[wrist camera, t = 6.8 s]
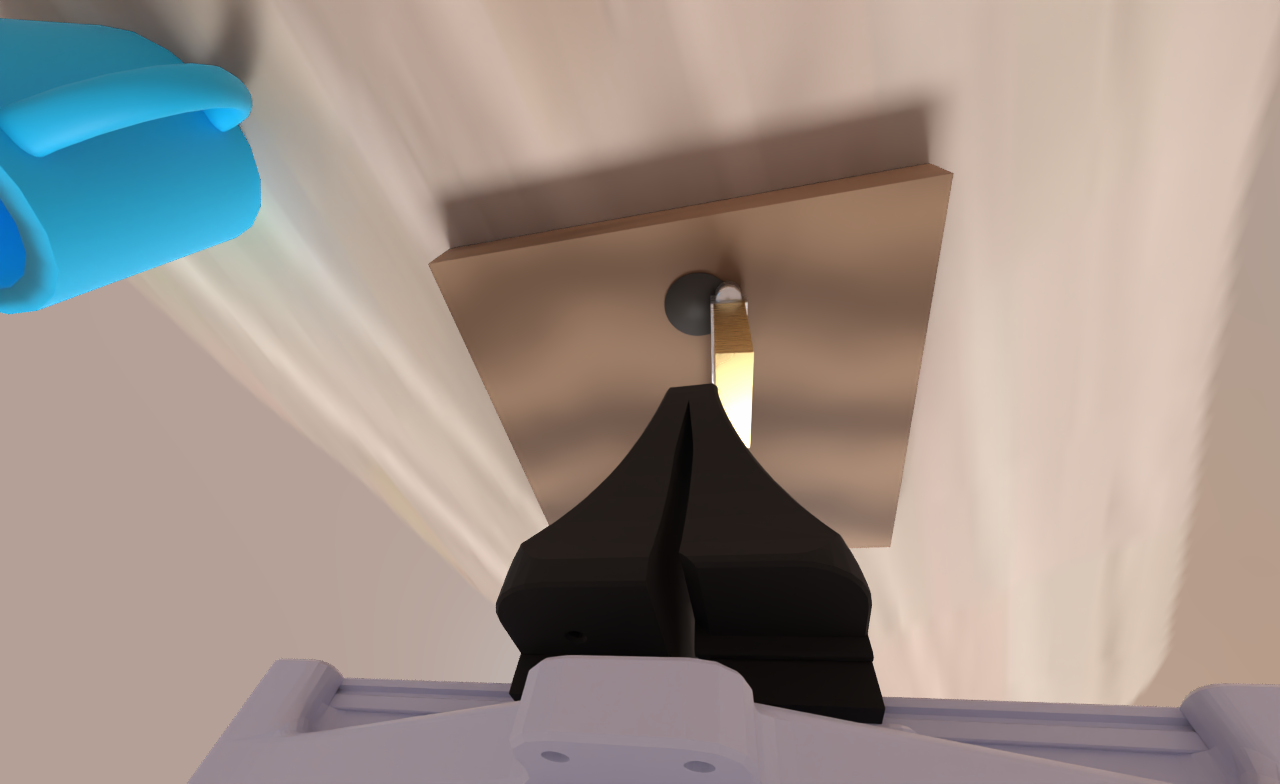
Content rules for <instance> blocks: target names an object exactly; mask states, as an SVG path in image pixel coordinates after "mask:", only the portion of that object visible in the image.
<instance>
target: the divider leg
mask: <svg viewBox="0 0 1280 784" xmlns="http://www.w3.org/2000/svg"><path fill="white" fill-rule="evenodd" d="M710 300H711V361H712V383H713V384H715V385H716V386H717V387H718V394H719V397H720V400H721V403H722V405H723V407H724V410H725V412H726V414H727V416H728V418H729V419H730V421H731V423H732V425H733V426H734V428H735V430H736V432H737V433H738V435H739V436H740V438H741V439H742V441H743V442H744V444H745V445H746V447H750V430H751V408H752V385H753V363H754V350H753V344H752V339H751V333H750V327H749V322H748V316H747V308H748V301H747V296H746V294H741V290H740V287H739V286H738V284H736V283H735V282H733V281H725V282H722V283H721V284H720V285H719V286H718V287H717V289H716V292H715V296H710Z"/></svg>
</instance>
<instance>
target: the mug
mask: <svg viewBox="0 0 1280 784" xmlns="http://www.w3.org/2000/svg"><path fill="white" fill-rule="evenodd" d="M251 108H252V98H251V94H250V92H249V91H248V89H247V87H246V86H245V85H244V84H243V82H242V81H241V80H239V79H238V78H237V77H236V76H234V75H232V74H231V73H229V72H228V71H226V70H224V69H223V68H221V67H218V66H214V65H204V64H195V63H186V64H184V63H183V62H182V61H181V60H180V59H178V58H177V57H176V56H175V55H174V54H172V53H171V52H170V51H169V50H167V49H165V48H163V47H161V46H159V45H157V44H155V43H154V42H152V41H150V40H148V39H146V38H144V37H142V36H140V35H138V34H137V33H135V32H132V31H127V30H122V29H117V28H112V27H107V26H102V25H91V24H76V23H62V22H47V21H32V20H18V19H3V18H0V312H1V313H6V314H14V313H22V312H30V311H37V310H40V309H43V308H46V307H48V306H51V305H53V304H56V303H59V302H62V301H65V300H67V299H70V298H73V297H75V296H78V295H81V294H84V293H86V292H89V291H92V290H94V289H97V288H100V287H103V286H105V285H108V284H111V283H114V282H116V281H119V280H122V279H125V278H127V277H130V276H133V275H135V274H138V273H141V272H144V271H146V270H149V269H152V268H155V267H157V266H160V265H163V264H165V263H168V262H171V261H174V260H176V259H179V258H182V257H185V256H187V255H190V254H193V253H195V252H198V251H201V250H204V249H206V248H209V247H212V246H214V245H217V244H220V243H223V242H225V241H228V240H231V239H234V238H236V237H238V236H239V235H240V234H242V233H243V232H245V231H246V230H247V229H249V228H250V227H251V226H252V225H253V223H254V221H255V218H256V216H257V214H258V211H259V209H260V207H261V179H260V176H259V173H258V170H257V166H256V163H255V160H254V157H253V153H252V150H251V147H250V145H249V144H248V142H247V140H246V138H245V136H244V135H243V133H242V131H241V129H240V128H239V126H238V124H239V123H241V122H242V121H243V120H245V119H246V118H247V117H248V116H249V114H250V111H251Z"/></svg>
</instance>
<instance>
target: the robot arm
mask: <svg viewBox="0 0 1280 784" xmlns="http://www.w3.org/2000/svg"><path fill="white" fill-rule="evenodd" d="M871 608H872V600H871V593H870V590H869V587H868V584H867V582H866V580H865V577H864V575H863V573H862V571H861V569H860V567H859V565H858V563H857V561H856V559H855V558H854V556H853V554H852V552H851V551H850V549H849V548H848V546H847V544H846V543H845V541H844V540H843V538H842V537H841V535H840V534H838V533H837V532H835V531H834V530H833V529H831V528H830V527H828V526H827V525H825V524H824V523H823V522H822V521H820V520H819V519H818V518H816V517H815V516H814V515H812V514H811V513H810V512H809V511H807V510H806V509H805V508H804V507H803V506H801V505H800V504H799V503H798V502H797V501H796V500H795V499H793V498H792V497H791V496H790V495H789V494H788V493H787V492H786V491H785V490H784V489H783V488H782V487H781V486H780V485H779V484H778V483H777V482H776V481H775V480H774V479H773V478H772V477H771V476H770V475H769V474H768V473H767V472H766V470H765V469H764V468H763V467H762V466H761V465H760V463H759V462H758V461H757V460H756V459H755V457H754V456H753V455H752V453H751V452H750V451H749V449H748V448H747V447H746V445H745V444H744V442H743V441H742V439H741V438H740V436H739V435H738V433H737V432H736V430H735V428H734V426H733V425H732V423H731V421H730V419H729V418H728V416H727V414H726V412H725V410H724V407H723V405H722V403H721V400H720V397H719V394H718V387H717V386H716V385H715V384H713V383H710V384H700V385H690V386H680V387H670V388H669V389H668V390H667V392H666V394H665V396H664V398H663V400H662V402H661V403H660V405H659V407H658V409H657V411H656V412H655V414H654V416H653V417H652V419H651V421H650V422H649V424H648V425H647V427H646V428H645V430H644V432H643V433H642V435H641V436H640V437H639V439H638V440H637V442H636V443H635V444H634V446H633V447H632V448H631V450H630V451H629V452H628V454H627V455H626V456H625V458H624V459H623V460H622V461H621V462H620V464H619V465H618V466H617V467H616V468H615V469H614V470H613V472H612V473H611V474H610V475H609V476H608V477H607V478H606V479H605V480H604V481H603V482H602V483H601V484H600V485H599V486H598V487H597V488H596V489H595V490H594V491H592V492H591V493H590V494H589V495H588V496H587V497H586V498H585V499H584V500H582V501H581V502H580V503H579V504H578V505H576V506H575V507H574V508H573V509H571V510H570V511H569V512H567V513H566V514H565V515H564V516H562V517H561V518H560V519H558V520H557V521H555V522H554V523H553V524H551V525H550V526H548V527H546V528H545V529H543V530H542V531H540V532H539V533H537V534H536V535H534V536H533V537H531V538H530V539H528V540H526V541H525V542H523V543H522V544H521V545H520V548H519V550H518V552H517V553H516V555H515V557H514V559H513V561H512V564H511V566H510V568H509V571H508V573H507V576H506V578H505V581H504V584H503V586H502V589H501V592H500V594H499V597H498V599H497V602H496V613H497V615H498V617H499V620H500V622H501V623H502V625H503V627H504V628H505V630H506V631H507V632H508V634H509V636H510V637H511V639H512V640H513V642H514V643H515V645H516V646H517V648H518V649H519V651H520V652H521V655H520V658H519V662H518V665H517V668H516V671H515V675H514V678H513V681H512V684H506V683H478V682H449V681H448V682H447V681H421V680H419V681H418V680H392V679H391V680H390V679H364V678H343V676H342V674H341V673H340V672H339V671H338V670H337V669H336V668H335V667H334V666H332V665H330V664H329V663H327V662H324V661H321V660H315V659H279V660H276V661H275V662H274V663H273V665H272V666H271V667H270V669H269V670H268V672H267V673H266V674H265V676H264V677H263V678H262V680H261V681H260V683H259V684H258V685H257V687H256V688H255V690H254V691H253V693H252V694H251V695H250V697H249V698H248V699H247V701H246V702H245V703H244V705H243V706H242V708H241V709H240V711H239V712H238V713H237V715H236V716H235V718H234V719H233V720H232V722H231V723H230V724H229V726H228V727H227V729H226V730H225V731H224V733H223V734H222V735H221V737H220V738H219V740H218V741H217V742H216V744H215V745H214V747H213V748H212V749H211V751H210V752H209V754H208V755H207V756H206V758H205V759H204V760H203V762H202V763H201V765H200V766H199V767H198V769H197V770H196V772H195V773H194V774H193V776H192V777H191V778H190V780H189V782H188V783H187V784H1280V685H1273V684H1272V685H1271V684H1234V683H1233V684H1231V683H1223V684H1211V685H1207V686H1203V687H1199V688H1197V689H1195V690H1193V691H1192V692H1190V693H1189V694H1188V695H1187V696H1186V697H1185V699H1184V700H1183V702H1182V704H1181V706H1180V707H1157V706H1129V705H1100V704H1072V703H1044V702H1016V701H987V700H959V699H931V698H902V697H882V695H881V691H880V688H879V684H878V681H877V677H876V674H875V670H874V667H873V663H872V661H873V659H874V656H873V651H872V647H871V644H870V640H869V637H868V628H869V621H870V615H871Z"/></svg>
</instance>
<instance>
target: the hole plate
mask: <svg viewBox="0 0 1280 784" xmlns="http://www.w3.org/2000/svg"><path fill="white" fill-rule="evenodd" d="M952 178H953V173H951V172H949V171H947V170H944V169H942V168H940V167H937V166H935V165H932V164H930V163H928V164H922V165H917V166H911V167H905V168H900V169H894V170H889V171H883V172H877V173H872V174H866V175H861V176H855V177H849V178H844V179H838V180H833V181H827V182H821V183H816V184H810V185H805V186H799V187H793V188H788V189H782V190H777V191H771V192H765V193H760V194H754V195H749V196H743V197H737V198H732V199H726V200H721V201H715V202H709V203H704V204H698V205H693V206H687V207H681V208H676V209H670V210H664V211H659V212H653V213H648V214H642V215H636V216H631V217H625V218H620V219H614V220H608V221H603V222H597V223H592V224H586V225H580V226H575V227H569V228H564V229H558V230H552V231H547V232H541V233H536V234H530V235H524V236H519V237H513V238H508V239H502V240H496V241H491V242H485V243H480V244H474V245H468V246H463V247H457V248H452V249H449V250H447V251H446V252H444V253H443V254H442V255H440V256H439V257H437V258H436V259H435V260H433V261H432V262H430V263H429V264H428V265H429V267H430V269H431V271H432V273H433V276H434V278H435V280H436V282H437V284H438V286H439V288H440V291H441V293H442V295H443V297H444V299H445V301H446V304H447V306H448V308H449V310H450V312H451V314H452V317H453V319H454V321H455V323H456V325H457V327H458V329H459V332H460V334H461V336H462V338H463V340H464V342H465V345H466V347H467V349H468V351H469V353H470V355H471V358H472V360H473V362H474V364H475V366H476V368H477V370H478V373H479V375H480V377H481V379H482V381H483V383H484V386H485V388H486V390H487V392H488V394H489V396H490V399H491V401H492V403H493V405H494V407H495V409H496V411H497V414H498V416H499V418H500V420H501V422H502V424H503V427H504V429H505V431H506V433H507V435H508V437H509V440H510V442H511V444H512V446H513V448H514V450H515V453H516V455H517V457H518V459H519V461H520V463H521V465H522V468H523V470H524V472H525V474H526V476H527V478H528V481H529V483H530V485H531V487H532V489H533V491H534V494H535V496H536V498H537V500H538V502H539V504H540V506H541V509H542V511H543V513H544V515H545V517H546V519H547V522H548V524H549V526H550V525H551V524H553V523H554V522H555V521H557V520H558V519H560V518H561V517H562V516H564V515H565V514H566V513H567V512H569V511H570V510H571V509H573V508H574V507H575V506H576V505H578V504H579V503H580V502H581V501H582V500H584V499H585V498H586V497H587V496H588V495H589V494H590V493H591V492H592V491H594V490H595V489H596V488H597V487H598V486H599V485H600V484H601V483H602V482H603V481H604V480H605V479H606V478H607V477H608V476H609V475H610V474H611V473H612V472H613V470H614V469H615V468H616V467H617V466H618V465H619V464H620V462H621V461H622V460H623V459H624V458H625V456H626V455H627V454H628V452H629V451H630V450H631V448H632V447H633V446H634V444H635V443H636V442H637V440H638V439H639V437H640V436H641V435H642V433H643V432H644V430H645V428H646V427H647V425H648V424H649V422H650V421H651V419H652V417H653V416H654V414H655V412H656V411H657V409H658V407H659V405H660V403H661V402H662V400H663V398H664V396H665V394H666V392H667V390H668V389H669V388H670V387H680V386H690V385H700V384H710V383H712V361H711V300H710V296H715V292H716V289H717V287H718V286H719V285H720V284H721V283H722V282H725V281H733V282H735V283H736V284H738V286H739V287H740V290H741V294H746V296H747V301H748V308H747V316H748V322H749V327H750V333H751V339H752V344H753V350H754V363H753V385H752V408H751V430H750V447H747V448H748V449H749V451H750V452H751V453H752V455H753V456H754V457H755V459H756V460H757V461H758V462H759V463H760V465H761V466H762V467H763V468H764V469H765V470H766V472H767V473H768V474H769V475H770V476H771V477H772V478H773V479H774V480H775V481H776V482H777V483H778V484H779V485H780V486H781V487H782V488H783V489H784V490H785V491H786V492H787V493H788V494H789V495H790V496H791V497H792V498H793V499H795V500H796V501H797V502H798V503H799V504H800V505H801V506H803V507H804V508H805V509H806V510H807V511H809V512H810V513H811V514H812V515H814V516H815V517H816V518H818V519H819V520H820V521H822V522H823V523H824V524H825V525H827V526H828V527H830V528H831V529H833V530H834V531H835V532H837V533H838V534H840V535H841V537H842V538H843V540H844V541H845V543H846V544H847V546H848V548H869V547H890V545H891V539H892V533H893V527H894V521H895V516H896V510H897V504H898V498H899V492H900V486H901V480H902V474H903V468H904V462H905V456H906V450H907V445H908V439H909V433H910V427H911V421H912V415H913V409H914V403H915V397H916V391H917V385H918V379H919V374H920V368H921V362H922V356H923V350H924V344H925V338H926V332H927V326H928V320H929V314H930V308H931V303H932V297H933V291H934V285H935V279H936V273H937V267H938V261H939V255H940V249H941V243H942V237H943V232H944V226H945V220H946V214H947V208H948V202H949V196H950V190H951V184H952Z"/></svg>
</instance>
